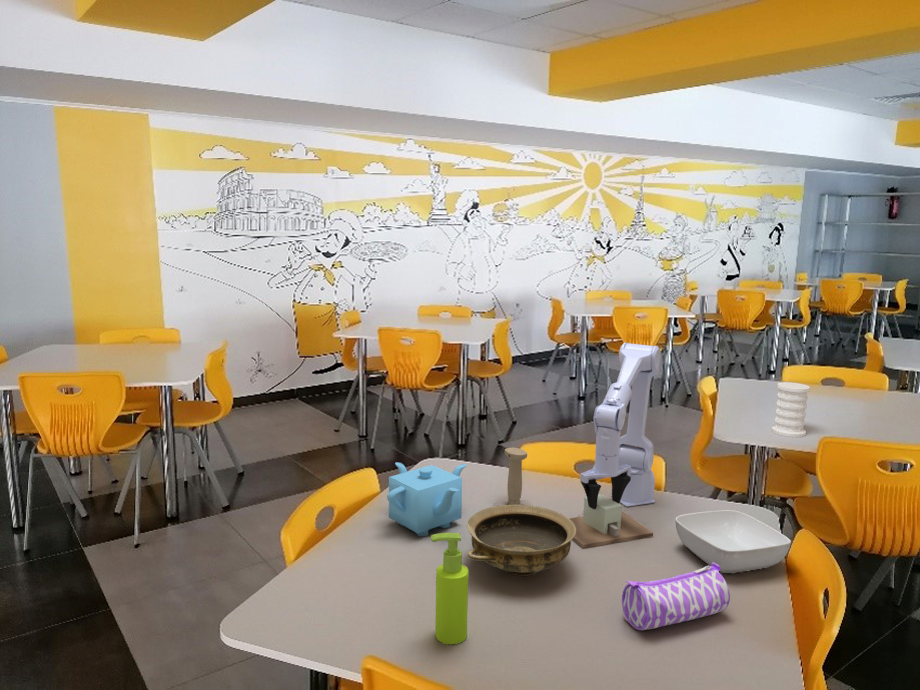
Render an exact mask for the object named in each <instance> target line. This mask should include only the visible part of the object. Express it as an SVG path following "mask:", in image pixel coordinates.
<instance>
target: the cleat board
mask: <svg viewBox="0 0 920 690" xmlns="http://www.w3.org/2000/svg"><path fill="white" fill-rule="evenodd" d="M568 518H569V517H568ZM569 519H570V520H571V521H572V522H573V523H574V525H575V527H576V534H575V536H574V538H573V539H572V540H571V541H573V543H575V544H576V545H578V546H579V547H580V548H581V549H583V550H584V549H588V548H596V547H600V546H605V545H612V544H618V543H623V542H628V541H635V540H641V539H646V538H651V537H654V532H653V531H652V530H650V529H649V528H647V527H646V526H644V525H643V524H641V522H638V520H635V519H634V518H633V517H632V516H629V515H628V514H627V513H625V512H624V511H621V526H620V530H619V528H617V527H616V526H615V525H613V524H612V523H609V524H608V528H607V534H603V533H601V532H599V531H598V530H596V529H594V528H593V527H591V526H589V525H588V524H586V523H584V522H583V515H582V516H576V517H570V518H569Z"/></svg>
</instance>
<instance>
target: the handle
mask: <svg viewBox="0 0 920 690" xmlns="http://www.w3.org/2000/svg"><path fill="white" fill-rule="evenodd" d="M504 455H505V456H506V458H508V459H509V461H508V463H509V464H508V473H507V474H508V475H507V487H506V488H507V490H506V491H507V502H508V505H521V498H522V490H523V469H522V467H523V460H525V459H527V457H528V452H527V451H526V450H524V449H521V448H517V447H508V448H505V449H504Z"/></svg>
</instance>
